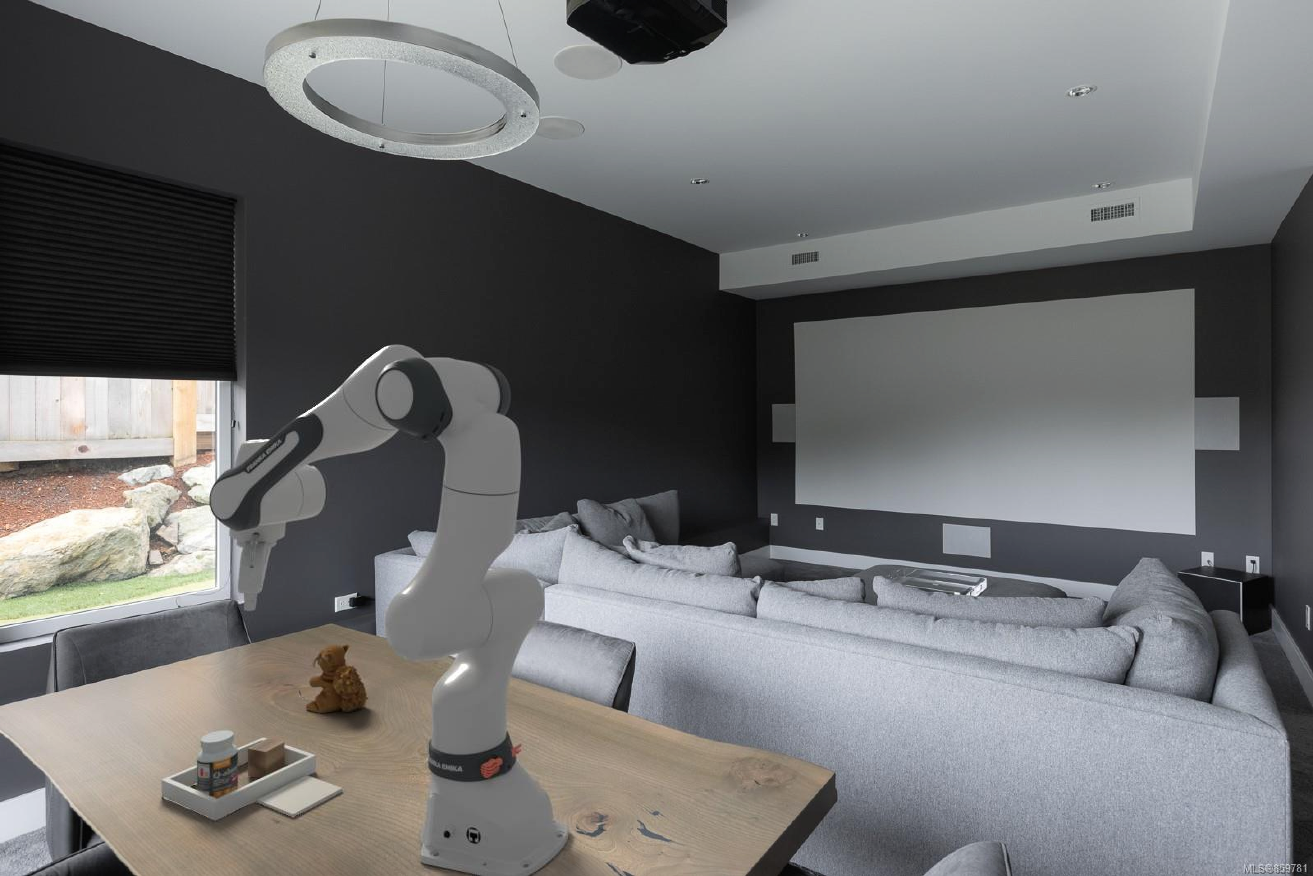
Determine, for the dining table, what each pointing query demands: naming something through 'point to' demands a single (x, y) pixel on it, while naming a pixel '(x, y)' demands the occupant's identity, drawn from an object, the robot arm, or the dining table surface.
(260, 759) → the walnut block
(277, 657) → the dining table surface
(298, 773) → the tray frame
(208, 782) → the pill bottle
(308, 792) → the coaster
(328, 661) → the stuffed squirrel
